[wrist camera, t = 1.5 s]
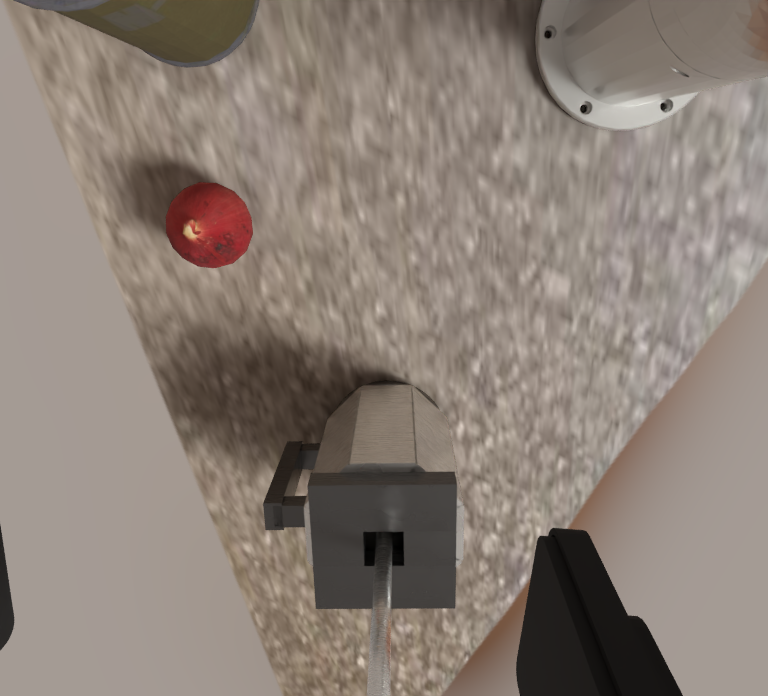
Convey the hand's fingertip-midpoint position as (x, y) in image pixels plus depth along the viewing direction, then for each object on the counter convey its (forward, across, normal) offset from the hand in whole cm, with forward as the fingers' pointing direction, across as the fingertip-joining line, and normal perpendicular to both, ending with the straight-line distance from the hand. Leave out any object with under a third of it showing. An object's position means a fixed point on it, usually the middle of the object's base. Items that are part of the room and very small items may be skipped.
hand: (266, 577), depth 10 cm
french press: (+37, -1, +16) cm, 41 cm away
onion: (+38, +11, -1) cm, 39 cm away
